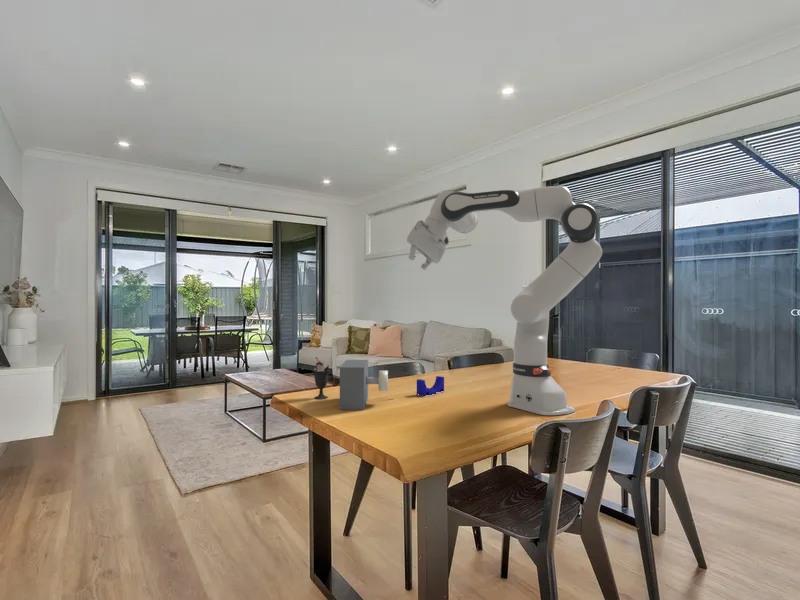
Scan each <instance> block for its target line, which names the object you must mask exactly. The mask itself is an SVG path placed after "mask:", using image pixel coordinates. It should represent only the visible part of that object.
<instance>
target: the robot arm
mask: <svg viewBox="0 0 800 600" xmlns="http://www.w3.org/2000/svg"><path fill="white" fill-rule="evenodd" d="M572 196H573V195H572V193H571V191H570V190H569V189H568V187H566V186H563V185H553V186H552V185H551V186H550V185H549V186H542V187H535V188H529V189H521V190H513V189H512V190H511V189H509V190H508V189H504V190H502V189H501V190H500V189H499V190H491V191H484V192H482V191H481V192H473V193H471V192H468V193H467V192H463V191H454V190H451V189H446V190H442V191H441V192H440V193H439V194H438V195H437V197H436V198H435V199H434V202H433V203H432V205H431V207H430V211H429V214H428V215H427V216H426V218H425V219H424V221H423V220H417V222H416V224H415V225H413V227H412V229H411V230H410V231H409V233H408V235H407V238H406V242H407V243H408V244H409V245H411V246H410V249H409V255H408V259H410V261H414V260H416V259H415V258H416V252H419V253H420V254H421V255H423V256H424V258H425V262H424V263H422V264H421V266H420V267H421V269H422V270H424V271H426V270H427V269H428V267H429V266H431V264H433V263H434V264H439V263H440V262H441V260H442V258H443V256H444V254H445V252H446V248H447V246H449V244H450V239H449V237H448V234H447V230H448V229H449V228H451V229H452V230H454V231H456V232H458V233H461V234H468V233H470V232H472V231H473V230H475V228H476V227H477V226H478V225H477V224H478V223H479V218H478V215H477V212H478V213H479V212H487V211H500V212H503V213H504V214H506V215H508V216H510V217H511V218H513V219H514V220H515V221H518V222H519V223H534V222H539V221H546V220H556V221H558V223H559V225H560V227H561V229H562V232H563V233H564V234H565V236H566V237H568V238H569V242H568V245H567V246H566V248H564V249H563V251H562V252H561V253H560V254H559V255H558V256H557V257H556V258H555V259H554V260H553V261H552V262H551V263H550V264H549V265H548V267H546V268H545V270H543V272H542V273H540V274H539V275H538V276H537V277H536V278H535V279H534V280H532V281H531V282H530V283H529V284H528V285H527V286H526V287H525V288H523V290H521V292H519V293H518V294H517V295H516V296H515V298H513V300H512V302H511V304H510V312H511V315H512V317H513V318H514V319H515V321H517V322H516V329H515V330H516V331H515V336H514V339H513V340H514V343H513V344H514V345H513V346H514V347H513V348H514V349H513V351H514V354H513V355H514V358H513V363H512V373H513V377H512V380H511V383H510V384H511V385H510V394H509V400H508V402H507V406H508V407H511V408H515V409H518V410H521V411H525V412H526V411H527V412H529V413H533V414H537V415H540V416H560V415H566V414H567V415H568V414H572V413H574V412H575V410H576V409H575V407H573V406H570V405H568V403H567V401H568V399H567V394H566V392H565V390H564V389H563V388H562V387H561V386H560V385H559V384H558V383H557V382H556V380H555V379H554V378H553V377H552V376H551V375H552V373H553V372H554V371H553V370H554V368H553V367H551V368H550V366H549V364H548V338H549V336H548V335H549V325H550V324H549V323H550V311H552V309H553V308H555V307H556V306H557V305H558V304H559V303H560V302H561V301H562V300H563V299H564V298H565V297H567V296H568V295H569V293H571V292H572V291H573V290H574V288H575V287H576V286H578V285H579V284H580V283H581V281H582V280H584V279H585V278H586V277H587V276H588V274H589V273H590V272H591V271H592V270H593V269H594V268H595V266H596V265H597V263H598V262H599V261H600V260H601V258H602V257H603V249H602V246H601V245H600V243H599V242H598V241H597V240H596V239H595V234H596V230H597V228H598V223H599V215H598V212H597V211H596V209H595V208H594V207H593V206H592V205H590V204H588V203H584V202H579V203H578V202H577V203H574V201H573V197H572Z"/></svg>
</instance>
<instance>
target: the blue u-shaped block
mask: <svg viewBox="0 0 800 600" xmlns="http://www.w3.org/2000/svg"><path fill="white" fill-rule="evenodd" d="M441 391H444V392H445V376H440V375H437V376H435V382H434V383H433V385H432V386H431V387H427V384H426V380H425V379H421V378H419V379H416V395H417V394H419V395H423V396H426V395H432V394H436V395H437V393H436V392H441ZM441 393H442V392H441ZM419 395H418V396H419ZM423 396H422V397H423ZM432 396H433V395H432Z"/></svg>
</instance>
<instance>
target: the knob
mask: <svg viewBox="0 0 800 600" xmlns="http://www.w3.org/2000/svg"><path fill="white" fill-rule="evenodd" d="M366 384H368V385H378V392H382V391H383V392H388V389H389V370H378V376H368V377H366Z"/></svg>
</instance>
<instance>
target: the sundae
mask: <svg viewBox="0 0 800 600" xmlns="http://www.w3.org/2000/svg"><path fill="white" fill-rule="evenodd" d="M315 359H316V360H317V362H316V363H315V366H314V368H313V370H311V372H312V373H313V375H314V384H315V386H316V388H318V389H319V393H318V395H316V396H314V399H315V400H325V399H326V398H327V399H328V398H329V397H328V396H327V395H325V394H324V388H325V387H326V386H327V384H328V378H329V373H330V372H331V370H330V369H329V367H330V365H329V364H328V365H327V366H326V364H325V363H323V362H322V361H320V360H319V359H318V357H317V356H316V357H315ZM327 399H326V400H327Z"/></svg>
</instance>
